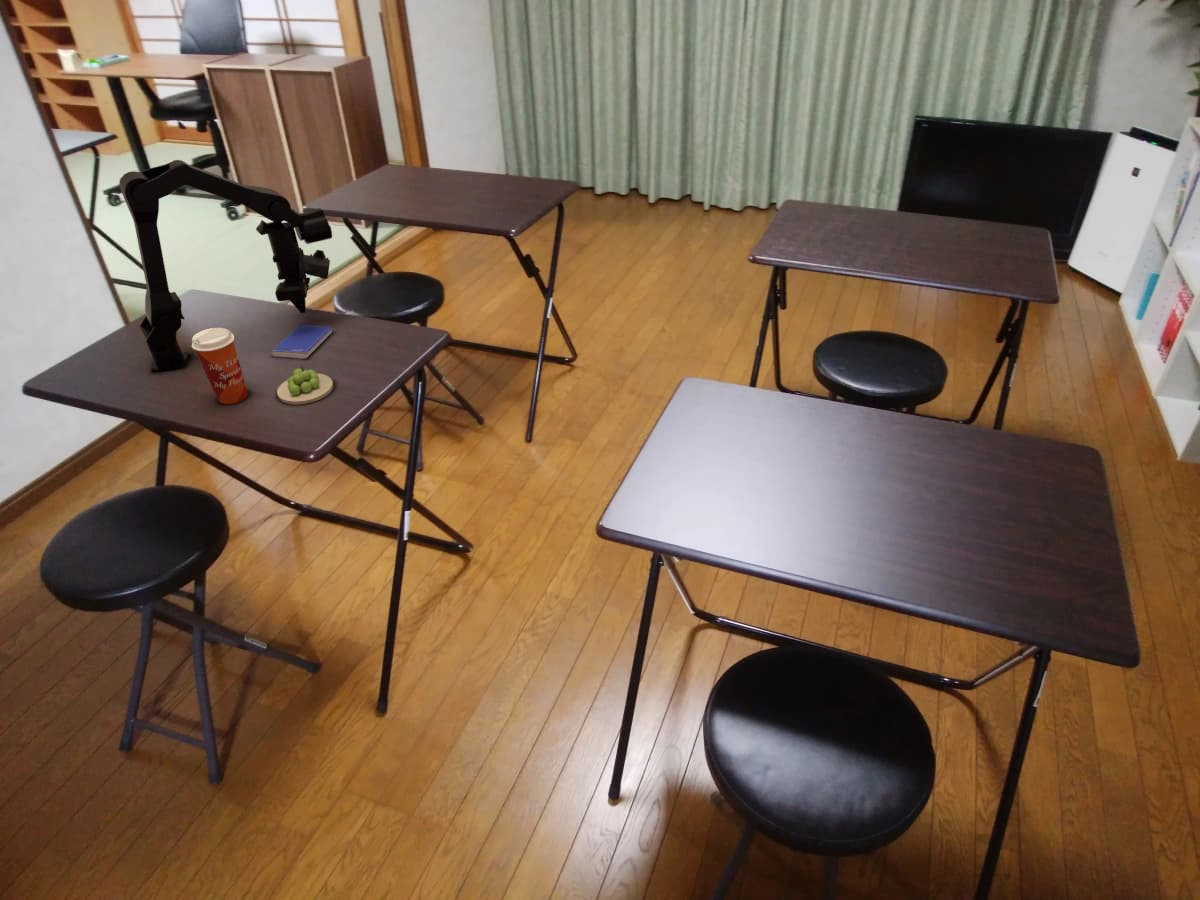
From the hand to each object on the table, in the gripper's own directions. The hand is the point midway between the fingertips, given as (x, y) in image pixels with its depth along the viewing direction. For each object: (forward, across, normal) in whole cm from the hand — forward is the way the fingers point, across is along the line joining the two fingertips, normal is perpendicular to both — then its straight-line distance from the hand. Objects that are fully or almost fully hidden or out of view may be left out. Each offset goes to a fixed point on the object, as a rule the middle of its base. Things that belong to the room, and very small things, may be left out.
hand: (303, 312), depth 179 cm
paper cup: (+3, -30, +12) cm, 33 cm away
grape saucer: (+3, -32, -2) cm, 32 cm away
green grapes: (+3, -32, -2) cm, 32 cm away
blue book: (+3, -10, 0) cm, 11 cm away
